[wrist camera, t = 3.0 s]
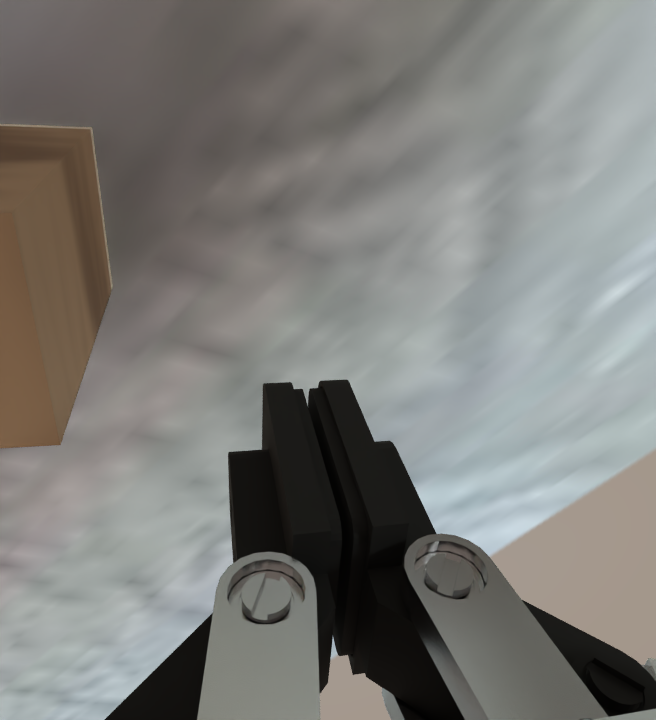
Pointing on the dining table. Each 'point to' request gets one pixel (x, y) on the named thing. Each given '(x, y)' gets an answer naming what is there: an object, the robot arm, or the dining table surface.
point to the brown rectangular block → (48, 276)
